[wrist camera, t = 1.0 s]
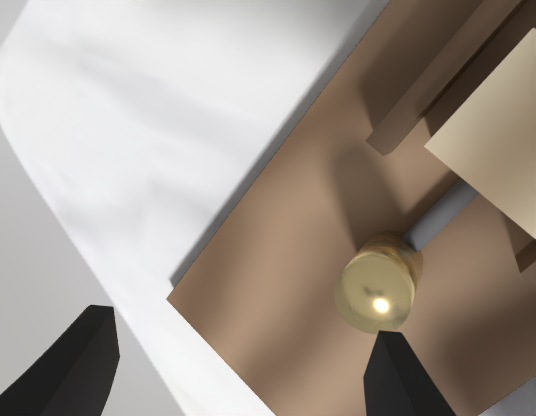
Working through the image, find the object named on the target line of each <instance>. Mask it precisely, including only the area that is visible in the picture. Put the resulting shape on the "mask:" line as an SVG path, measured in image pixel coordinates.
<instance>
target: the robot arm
mask: <svg viewBox="0 0 536 416" xmlns="http://www.w3.org/2000/svg"><path fill="white" fill-rule="evenodd" d="M115 324H116V323H115V316H114V308H113V307H110V306H99V305H90V306H88V307H87V308H86V309H85V310H84V311H83V312H82V314H80V316H79V317H78V318H77V319H76V320H75V321H74V322H73V323H72V324H71V325H70V327H69V328H68V329H67V330H66V331H65V332H64V333H63V334H62V335H61V336H60V337H59V338H58V339H57V340H56V341H55V342H54V344H53V345H52V346H51V347H50V348H49V349H48V350H47V351H46V352H45V353H44V354H43V355H42V356H41V357H40V358H39V359H38V360H37V361H36V362H35V363H34V364H33V365H32V366H31V367H30V368H29V369H28V370H27V371H26V372H25V373H23V374H22V376H20V377H19V378H18V379H17V380H16V381H15V382H14V383H13V384H12V385H10V386H9V387H8V388H7V389H6V390H5V391H4V392H3V393H2V394H1V395H0V416H101V414H102V411H103V409H104V406H105V404H106V401H107V398H108V396H109V393H110V390H111V387H112V383H113V380H114V376H115V373H116V369H117V366H118V362H119V358H120V354H119V346H118V339H117V331H116V325H115ZM363 383H364V395H365V406H366V415H367V416H457V415H456V414H455V412H454V411H453V409H452V408H451V407H450V405H449V404H448V402H447V401H446V399H445V398H444V397H443V395H442V394H441V392H440V391H439V389H438V388H437V386H436V385H435V383H434V382H433V380H432V379H431V377H430V376H429V374H428V373H427V371H426V370H425V368H424V367H423V365H422V364H421V362H420V360H419V359H418V357H417V356H416V354H415V353H414V351H413V349H412V348H411V346H410V345H409V343H408V341H407V340H406V338H405V337H404V335H403V334H402V333H401V332H394V331H383V330H379V332H378V335H377V338H376V341H375V344H374V346H373V349H372V352H371V355H370V358H369V361H368V364H367V367H366V370H365V373H364V376H363Z"/></svg>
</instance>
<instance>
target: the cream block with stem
mask: <svg viewBox="0 0 536 416" xmlns="http://www.w3.org/2000/svg"><path fill="white" fill-rule="evenodd" d="M424 147H425V148H426V149H428V150H429V151H430V152H431V153H432V154H434V155H435V156H436V157H437V158H438V159H440V160H441V161H442V162H443V163H444V164H446V165H447V166H448V167H449V168H450V169H452V170H453V171H454V172H455V173H456V174H458V175H459V176H460V177H461V178H460V179H459V180H458V181H457V182H456V183H455V184H454V185H453V186H452V187H451V188H450V189H449V190H448V191H447V192H446V193H445V194H444V195H443V196H442V197H441V198H440V199H439V200H438V201H437V202H436V203H435V204H434V205H433V206H432V207H431V208H430V209H429V210H428V211H427V212H426V213H425V214H424V215H423V216H422V217H421V218H420V219H419V220H418V221H417V222H416V223H415V224H414V225H413V226H412V227H411V228H410V229H409V230H408V231H407V232H406V233H405V234H403V233H400V232H395V231H385V232H380V233H378V234H376V235H374V236H372V237H371V238H370V239H369V240H368V241H367V242H366V243H365V244H364V246H363V247H362V248H361V249H360V251H359V252H358V253H357V254H356V255H355V257H354V258H353V259H352V260H351V261H350V263H349V264H348V265H347V266H346V267H345V269H344V270H343V271H342V272H341V273H340V275H339V276H338V278H337V280H336V282H335V286H334V300H335V304H336V307H337V309H338V311H339V313H340V314H341V316H342V317H343V318H344V319H345V321H346V322H348V323H349V324H350V325H351V326H353V327H354V328H356V329H358V330H360V331H362V332H365V333H369V334H378V332H379V330H383V331H394V330H396V329H397V328H399V327H400V326H401V325H402V324H403V323H404V322H405V320H406V319H407V317H408V315H409V312H410V309H411V306H412V303H413V300H414V297H415V293H416V290H417V287H418V284H419V281H420V277H421V274H422V271H423V266H424V259H423V255H422V252H421V249H422V248H423V247H424V246H425V245H426V244H427V243H428V242H429V241H430V240H431V239H432V238H433V237H434V236H435V235H436V234H437V233H438V232H439V231H440V230H442V229H443V228H444V227H445V226H446V225H447V224H448V223H449V222H450V221H451V220H452V219H453V218H454V217H455V216H456V215H457V214H458V213H459V212H460V211H461V210H462V209H463V208H465V207H466V206H467V205H468V204H469V203H470V202H471V201H472V200H473V199H474V198H475V197H476V196H477V195H478V194H479V193H480V194H482V195H483V196H484V197H485V198H487V199H488V200H489V201H490V202H491V203H493V204H494V205H495V206H496V207H497V208H499V209H500V210H501V211H502V212H503V213H505V214H506V215H507V216H508V217H509V218H511V219H512V220H513V221H514V222H515V223H517V224H518V225H519V226H520V227H521V228H523V229H524V230H525V231H526V232H527V233H529V234H530V235H531V236H532V237H533V238H535V239H536V29H535V28H532V29H531V30H530V32H529V33H528V34H527V35H526V36H525V37H524V38H523V39H522V40H521V41H520V42H519V43H518V45H517V46H516V47H515V48H514V49H513V50H512V51H511V52H510V53H509V54H508V55H507V57H506V58H505V59H504V60H503V61H502V62H501V63H500V64H499V65H498V66H497V67H496V68H495V70H494V71H493V72H492V73H491V74H490V75H489V76H488V77H487V78H486V79H485V80H484V81H483V83H482V84H481V85H480V86H479V87H478V88H477V89H476V90H475V91H474V92H473V93H472V94H471V96H470V97H469V98H468V99H467V100H466V101H465V102H464V103H463V104H462V105H461V106H460V108H459V109H458V110H457V111H456V112H455V113H454V114H453V115H452V116H451V117H450V118H449V119H448V121H447V122H446V123H445V124H444V125H443V126H442V127H441V128H440V129H439V130H438V131H437V132H436V134H435V135H434V136H433V137H432V138H431V139H430V140H429V141H428V142H427V143H426V144H425V145H424Z"/></svg>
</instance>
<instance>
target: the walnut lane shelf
mask: <svg viewBox="0 0 536 416" xmlns="http://www.w3.org/2000/svg"><path fill="white" fill-rule="evenodd" d="M532 28H535V29H536V0H390V2H389V3H388V4H387V6H386V7H385V8H384V10H383V11H382V12H381V14H380V15H379V16H378V18H377V19H376V20H375V22H374V23H373V24H372V26H371V27H370V28H369V30H368V31H367V32H366V34H365V35H364V36H363V38H362V39H361V40H360V42H359V43H358V44H357V46H356V47H355V48H354V50H353V51H352V52H351V54H350V55H349V56H348V58H347V59H346V60H345V62H344V63H343V64H342V66H341V67H340V68H339V70H338V71H337V72H336V74H335V75H334V76H333V78H332V79H331V80H330V82H329V83H328V84H327V86H326V87H325V88H324V90H323V91H322V92H321V94H320V95H319V96H318V98H317V99H316V100H315V102H314V103H313V104H312V106H311V107H310V108H309V110H308V111H307V112H306V114H305V115H304V116H303V118H302V119H301V120H300V121H299V123H298V124H297V125H296V127H295V128H294V129H293V131H292V132H291V133H290V135H289V136H288V137H287V139H286V140H285V141H284V143H283V144H282V145H281V147H280V148H279V149H278V151H277V152H276V153H275V155H274V156H273V157H272V159H271V160H270V161H269V163H268V164H267V165H266V167H265V168H264V169H263V171H262V172H261V173H260V175H259V176H258V177H257V179H256V180H255V181H254V183H253V184H252V185H251V187H250V188H249V189H248V191H247V192H246V193H245V195H244V196H243V197H242V199H241V200H240V201H239V203H238V204H237V205H236V207H235V208H234V209H233V211H232V212H231V213H230V215H229V216H228V217H227V219H226V220H225V221H224V223H223V224H222V225H221V227H220V228H219V229H218V231H217V232H216V233H215V235H214V236H213V237H212V239H211V240H210V241H209V243H208V244H207V245H206V247H205V248H204V249H203V251H202V252H201V253H200V255H199V256H198V257H197V259H196V260H195V261H194V263H193V264H192V265H191V267H190V268H189V269H188V271H187V272H186V273H185V275H184V276H183V277H182V279H181V280H180V281H179V282H178V284H177V285H176V286H175V288H174V289H173V290H172V292H171V293H170V294H169V296H168V297H167V298H166V299H167V301H168V302H169V303H170V304H171V305H172V306H173V307H174V308H175V309H176V310H177V311H178V312H179V313H180V314H181V315H182V316H183V318H184V319H185V320H186V321H187V322H188V323H189V324H190V325H191V326H192V327H193V328H194V329H195V330H196V331H197V332H198V333H199V334H200V336H201V337H202V338H203V339H204V340H205V341H206V342H207V343H208V344H209V345H210V346H211V347H212V348H213V349H214V350H215V351H216V353H217V354H218V355H219V356H220V357H221V358H222V359H223V360H224V361H225V362H226V363H227V364H228V365H229V366H230V367H231V368H232V369H233V371H234V372H235V373H236V374H237V375H238V376H239V377H240V378H241V379H242V380H243V381H244V382H245V383H246V384H247V385H248V386H249V388H250V389H251V390H252V391H253V392H254V393H255V394H256V395H257V396H258V397H259V398H260V399H261V400H262V401H263V402H264V403H265V404H266V406H267V407H268V408H269V409H270V410H271V411H272V412H273V413H274V414H275V415H276V416H367V415H366V406H365V395H364V383H363V376H364V373H365V370H366V367H367V364H368V361H369V358H370V355H371V352H372V349H373V346H374V344H375V341H376V338H377V335H378V334H369V333H365V332H362V331H360V330H358V329H356V328H354V327H353V326H351V325H350V324H349V323H348V322H346V321H345V319H344V318H343V317H342V316H341V314H340V313H339V311H338V309H337V307H336V304H335V300H334V286H335V282H336V280H337V278H338V276H339V275H340V273H341V272H342V271H343V270H344V269H345V267H346V266H347V265H348V264H349V263H350V261H351V260H352V259H353V258H354V257H355V255H356V254H357V253H358V252H359V251H360V249H361V248H362V247H363V246H364V244H365V243H366V242H367V241H368V240H369V239H370V238H371V237H372V236H374V235H376V234H378V233H380V232H385V231H395V232H400V233H403V234H405V233H406V232H407V231H408V230H409V229H410V228H411V227H412V226H413V225H414V224H415V223H416V222H417V221H418V220H419V219H420V218H421V217H422V216H423V215H424V214H425V213H426V212H427V211H428V210H429V209H430V208H431V207H432V206H433V205H434V204H435V203H436V202H437V201H438V200H439V199H440V198H441V197H442V196H443V195H444V194H445V193H446V192H447V191H448V190H449V189H450V188H451V187H452V186H453V185H454V184H455V183H456V182H457V181H458V180H459V179H460V178H461V177H460V176H459V175H458V174H456V173H455V172H454V171H453V170H452V169H450V168H449V167H448V166H447V165H446V164H444V163H443V162H442V161H441V160H440V159H438V158H437V157H436V156H435V155H434V154H432V153H431V152H430V151H429V150H428V149H426V148H425V147H424V145H425V144H426V143H427V142H428V141H429V140H430V139H431V138H432V137H433V136H434V135H435V134H436V132H437V131H438V130H439V129H440V128H441V127H442V126H443V125H444V124H445V123H446V122H447V121H448V119H449V118H450V117H451V116H452V115H453V114H454V113H455V112H456V111H457V110H458V109H459V108H460V106H461V105H462V104H463V103H464V102H465V101H466V100H467V99H468V98H469V97H470V96H471V94H472V93H473V92H474V91H475V90H476V89H477V88H478V87H479V86H480V85H481V84H482V83H483V81H484V80H485V79H486V78H487V77H488V76H489V75H490V74H491V73H492V72H493V71H494V70H495V68H496V67H497V66H498V65H499V64H500V63H501V62H502V61H503V60H504V59H505V58H506V57H507V55H508V54H509V53H510V52H511V51H512V50H513V49H514V48H515V47H516V46H517V45H518V43H519V42H520V41H521V40H522V39H523V38H524V37H525V36H526V35H527V34H528V33H529V32H530V30H531V29H532ZM421 252H422V255H423V259H424V266H423V271H422V274H421V277H420V281H419V284H418V287H417V290H416V293H415V297H414V300H413V303H412V306H411V309H410V312H409V315H408V317H407V319H406V320H405V322H404V323H403V324H402V325H401V326H400V327H399V328H397V329H396V330H394V332H401V333H402V334H403V335H404V337H405V338H406V340H407V341H408V343H409V345H410V346H411V348H412V349H413V351H414V353H415V354H416V356H417V357H418V359H419V360H420V362H421V364H422V365H423V367H424V368H425V370H426V371H427V373H428V374H429V376H430V377H431V379H432V380H433V382H434V383H435V385H436V386H437V388H438V389H439V391H440V392H441V394H442V395H443V397H444V398H445V399H446V401H447V402H448V404H449V405H450V407H451V408H452V409H453V411H454V412H455V414H456V415H457V416H478V415H479V414H481V413H482V412H484V411H485V410H487V409H488V408H490V407H491V406H492V405H494V404H495V403H497V402H498V401H500V400H501V399H503V398H504V397H505V396H507V395H508V394H510V393H511V392H513V391H514V390H516V389H517V388H519V387H520V386H521V385H523V384H524V383H526V382H527V381H529V380H530V379H532V378H533V377H535V376H536V239H535V238H533V237H532V236H531V235H530V234H529V233H527V232H526V231H525V230H524V229H523V228H521V227H520V226H519V225H518V224H517V223H515V222H514V221H513V220H512V219H511V218H509V217H508V216H507V215H506V214H505V213H503V212H502V211H501V210H500V209H499V208H497V207H496V206H495V205H494V204H493V203H491V202H490V201H489V200H488V199H487V198H485V197H484V196H483V195H482V194H480V193H479V194H478V195H477V196H476V197H475V198H474V199H473V200H472V201H471V202H470V203H469V204H468V205H467V206H466V207H465V208H463V209H462V210H461V211H460V212H459V213H458V214H457V215H456V216H455V217H454V218H453V219H452V220H451V221H450V222H449V223H448V224H447V225H446V226H445V227H444V228H443V229H442V230H440V231H439V232H438V233H437V234H436V235H435V236H434V237H433V238H432V239H431V240H430V241H429V242H428V243H427V244H426V245H425V246H424V247H423V248H422V249H421Z"/></svg>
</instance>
